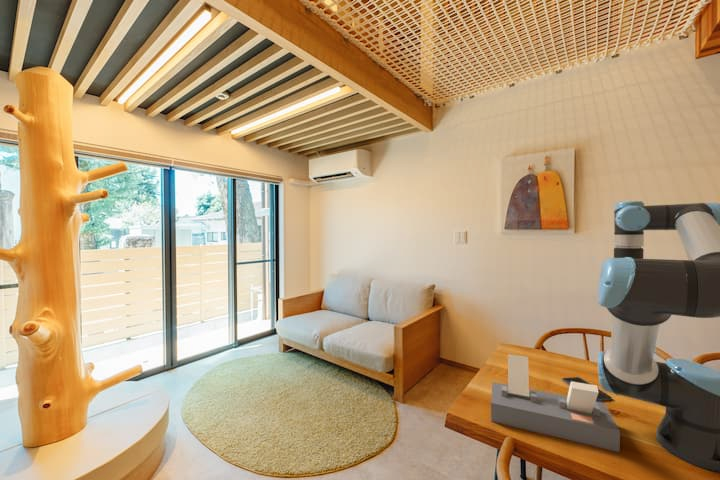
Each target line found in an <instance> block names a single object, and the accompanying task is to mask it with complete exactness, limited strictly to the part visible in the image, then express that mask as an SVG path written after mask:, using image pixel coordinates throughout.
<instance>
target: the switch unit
mask: <svg viewBox="0 0 720 480" xmlns="http://www.w3.org/2000/svg"><path fill="white" fill-rule="evenodd" d="M567 396H568V395H565V394H559V393H553V392H548V391H544V390H538V389H532V388H529V397H528V396H523V395H518V394H513V393H508V384H507V383H506V384H505V383H501V382H496V381H492V384H491V400H490V401H491V402H490V416H491V417H490V421H491V422H493V423H496V424H501V425H505V426H509V427H513V428H517V429H522V430H526V431H529V432H534V433H539V434H543V435H547V436H552V437H555V438H559V439H564V440H568V441H572V442H575V443H580V444H584V445H589V446H592V447H595V448H601V449H605V450H609V451H613V452H616V453H620V452H621V451H620V450H621V448H620V447H621V430H620V429H619V427H618V424H617V423H616V421H615V419H614V418H613V416H612V415H611V413H610V411H609V409H608V407H607V406H606V404H605V402H603V401H600V402H597V401H596V402H595V405H594V408H593V411H592V414H590V413H586V412H581V411H576V410H571V409H567V405H566V400H567Z"/></svg>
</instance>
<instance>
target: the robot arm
mask: <svg viewBox="0 0 720 480" xmlns="http://www.w3.org/2000/svg"><path fill="white" fill-rule="evenodd" d="M613 214H614V215H613V218H614V219H613V223H614V224H613V226H614V229H613V230H614V232H613V233H614V235H613V246H615V247H614V248H613V257H610V258H607V259H605V260H604V262H603V263H602V266H601V269H600V273H599V280H598V287H597V303H598V305H600V306H601V307H604V308H606V309H607V311H608V313H609V314H611V337H610V347H609V348H608V349H606V350H604V351H603V350H602V351H599V352H598V354H597V374H598V381H599V385H600V387H601V388H602V390H604V391H606V392H609V393H611V394H614V395H617V396H622V397H626V398H630V399H634V400H638V401H642V402H646V403H650V404H654V405H658V406H662V407H665V413H664V415H663V417H662V418H661V420H660V422H659V423H658V426H657V427H656V438H655V439H656V440H657V442H658V443H659V444H660V445H661V447H663V448H664V449H665V450H667V451H668V452H669V453H670V454H672V455H674V456H675V457H678V458H680V459H681V460H683V461H686V462H687V463H689V464H692V465H694V466H697V467H700V468H702V469H706V470H709V471H713V472H718V473H720V371H718V370H716V369H714V368H712V367H711V366H707V365H705V364H701V363H699V362H696V361H693V360H688V359H684V358H678V357H676V358H675V357H669V358H667V360H665V362H660V361H656V360H655V359H654V354H655V350H656V345H657V340H658V333H659V330H660V329H659V328H660V326H661V325H662V324H664V323H666V322H667V321H669V319H670V318H671V317H672V316H679V317H689V318H695V319H696V318H697V319H698V318H699V319H713V318H715V319H716V318H720V203H719V202H696V203H695V202H694V203H678V204H677V203H675V204H658V205H657V204H656V205H653V204H652V205H645V203H644V202H643V201H642V200H641V201H639V200H632V201H631V200H630V201H620V202H617V203H615V205H614V211H613ZM644 231H676V232H677V234H678V236H679V239H680V242H681V245H682V246H683V249H684V252H685V254H686V256H687V260H686V259H666V258H665V259H658V258H655V259H654V258H644V248H643V247H644V246H645V245H644V244H645V243H644V242H645V241H644V240H645V239H644V238H645V234H644V233H645V232H644Z"/></svg>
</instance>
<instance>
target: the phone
mask: <svg viewBox="0 0 720 480" xmlns="http://www.w3.org/2000/svg"><path fill="white" fill-rule="evenodd" d="M571 381H573V382H579V383H584V384H590V385H592V383H589V381H586V380H585V379H584V378H582V377H577V376H575V377H563V378H562V382H563V383H565V384H566V385H567V386H568V387H570V383H571ZM598 392H599V393H598V396H597V399H596V401H597V402H611V401H613V397H612V396H610V395H609V394H607V393H606V392H604V391H603V390H601V389H599V388H598Z"/></svg>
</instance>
